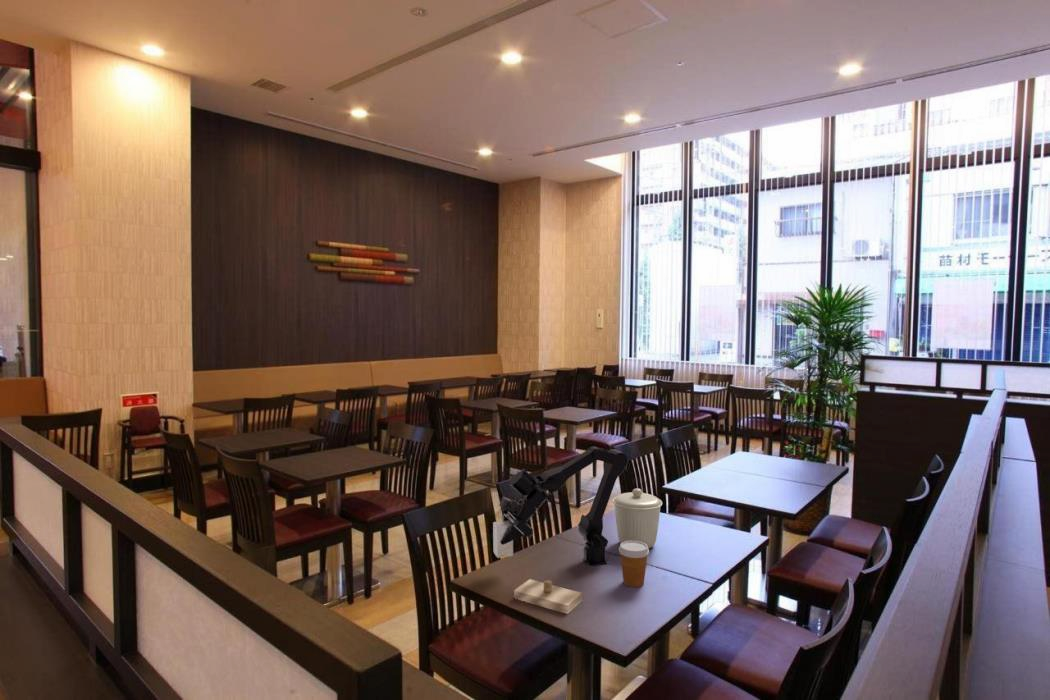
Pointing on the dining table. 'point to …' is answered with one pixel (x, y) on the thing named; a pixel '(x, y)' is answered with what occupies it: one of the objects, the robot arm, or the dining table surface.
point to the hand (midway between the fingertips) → (499, 540)
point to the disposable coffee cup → (633, 562)
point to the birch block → (548, 596)
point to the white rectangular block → (498, 534)
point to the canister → (637, 517)
